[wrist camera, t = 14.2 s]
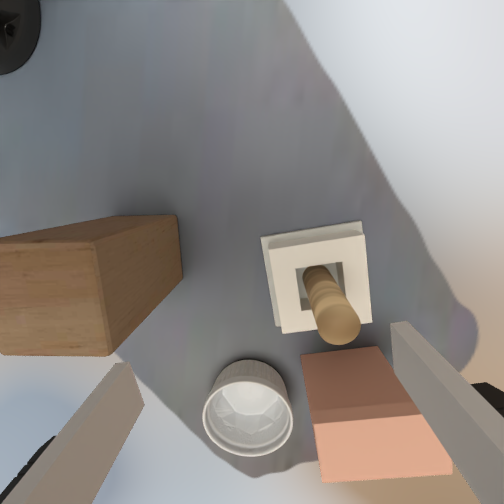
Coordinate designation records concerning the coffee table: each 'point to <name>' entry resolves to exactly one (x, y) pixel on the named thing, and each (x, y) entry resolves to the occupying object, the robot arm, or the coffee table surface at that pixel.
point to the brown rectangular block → (367, 419)
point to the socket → (310, 254)
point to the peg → (330, 306)
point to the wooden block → (85, 284)
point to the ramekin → (248, 409)
